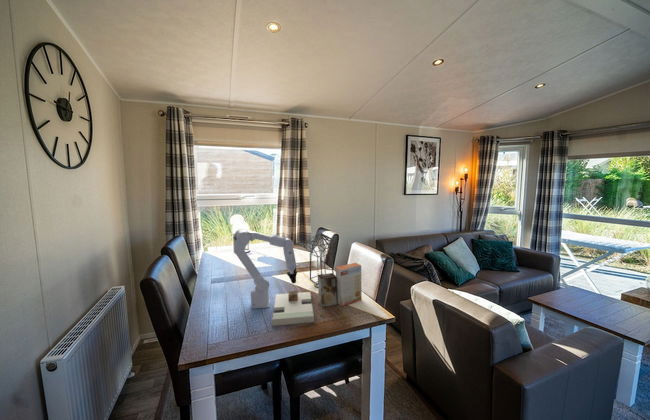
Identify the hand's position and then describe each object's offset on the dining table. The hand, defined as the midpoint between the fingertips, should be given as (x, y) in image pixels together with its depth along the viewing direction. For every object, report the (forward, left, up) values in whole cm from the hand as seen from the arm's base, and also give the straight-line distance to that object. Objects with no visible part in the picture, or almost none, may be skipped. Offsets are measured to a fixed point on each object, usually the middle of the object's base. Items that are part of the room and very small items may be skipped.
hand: (294, 279), depth 143 cm
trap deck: (-1, -14, -10) cm, 17 cm away
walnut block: (-1, -7, -8) cm, 11 cm away
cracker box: (+30, -11, -10) cm, 34 cm away
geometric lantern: (+17, +12, -10) cm, 23 cm away
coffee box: (+18, -11, -10) cm, 24 cm away
